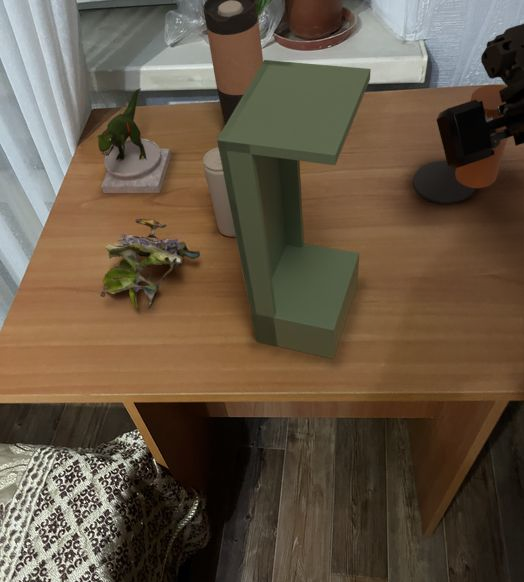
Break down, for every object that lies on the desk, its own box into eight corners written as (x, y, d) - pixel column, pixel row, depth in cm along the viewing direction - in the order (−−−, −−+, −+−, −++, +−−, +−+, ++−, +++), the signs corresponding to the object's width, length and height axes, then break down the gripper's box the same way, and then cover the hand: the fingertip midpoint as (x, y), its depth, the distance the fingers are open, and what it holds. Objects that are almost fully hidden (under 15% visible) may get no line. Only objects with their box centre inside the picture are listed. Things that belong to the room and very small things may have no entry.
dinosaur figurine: (97, 209, 86) (68, 144, 76) (128, 130, 97) (105, 64, 87) (154, 209, 85) (132, 143, 75) (179, 128, 95) (162, 62, 86)
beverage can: (255, 218, 81) (244, 148, 71) (244, 241, 79) (231, 172, 69) (224, 213, 83) (210, 143, 73) (213, 236, 80) (196, 167, 70)
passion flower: (174, 290, 82) (209, 232, 75) (159, 341, 75) (197, 283, 67) (102, 256, 79) (131, 191, 71) (78, 306, 71) (108, 240, 63)
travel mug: (257, 111, 96) (242, -16, 80) (277, 133, 92) (266, 4, 75) (217, 126, 95) (194, 0, 78) (236, 150, 91) (215, 22, 74)
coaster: (472, 161, 83) (472, 159, 83) (480, 203, 78) (481, 200, 78) (410, 164, 84) (411, 162, 84) (415, 205, 79) (415, 202, 79)
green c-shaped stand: (357, 284, 72) (370, 68, 48) (333, 359, 66) (335, 154, 42) (285, 271, 75) (264, 59, 51) (256, 341, 69) (216, 139, 45)
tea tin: (505, 175, 73) (529, 96, 64) (476, 193, 71) (496, 115, 62) (474, 157, 75) (493, 79, 66) (446, 174, 74) (461, 97, 65)
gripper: (636, -17, 54) (532, 46, 69) (463, 36, 51) (395, 89, 67) (656, 100, 56) (551, 136, 71) (491, 156, 54) (419, 180, 69)
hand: (480, 133), depth 69 cm, fingers closed on tea tin, 5 cm apart
